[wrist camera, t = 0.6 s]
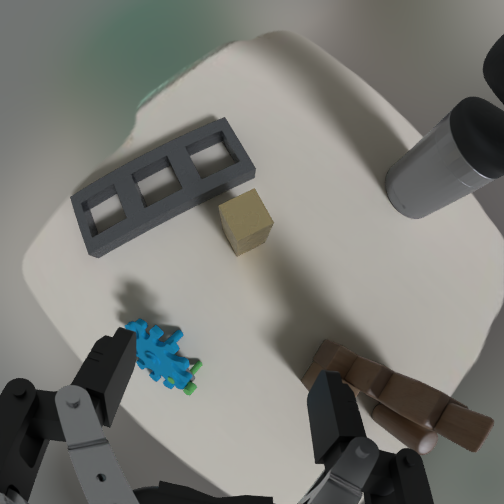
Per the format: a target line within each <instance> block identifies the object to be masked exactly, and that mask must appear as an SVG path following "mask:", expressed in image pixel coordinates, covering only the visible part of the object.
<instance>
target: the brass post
mask: <svg viewBox="0 0 504 504" xmlns="http://www.w3.org/2000/svg"><path fill="white" fill-rule="evenodd" d="M219 212H220V217H221V222H222V228H223V231H224V233H225V235H226V237H227V238H228V240H229V242H230V244H231V246H232V248H233V250H234V252H235V254H236V256H237V257H238V256H240V255H241V254H243V253H245V252H247V251H249V250H251V249H253V248H255V247H257V246H259V245H261V244H263V243H265V241H266V239H267V237H268V235H269V232H270V230H271V228H272V226H273V224H274V222H273V220H272V218H271V217H270V215H269V213H268V211H267V209H266V208H265V206H264V204H263V202H262V200H261V199H260V197H259V195H258V193H257V192H256V190H255V188H254V189H252V190H250V191H248V192H246V193H244V194H241V195H239V196H237V197H235V198H233V199H231V200H229V201H227V202H225V203H223V204H221V205H219Z"/></svg>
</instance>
